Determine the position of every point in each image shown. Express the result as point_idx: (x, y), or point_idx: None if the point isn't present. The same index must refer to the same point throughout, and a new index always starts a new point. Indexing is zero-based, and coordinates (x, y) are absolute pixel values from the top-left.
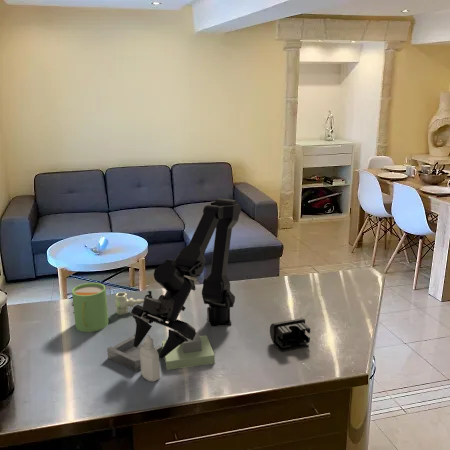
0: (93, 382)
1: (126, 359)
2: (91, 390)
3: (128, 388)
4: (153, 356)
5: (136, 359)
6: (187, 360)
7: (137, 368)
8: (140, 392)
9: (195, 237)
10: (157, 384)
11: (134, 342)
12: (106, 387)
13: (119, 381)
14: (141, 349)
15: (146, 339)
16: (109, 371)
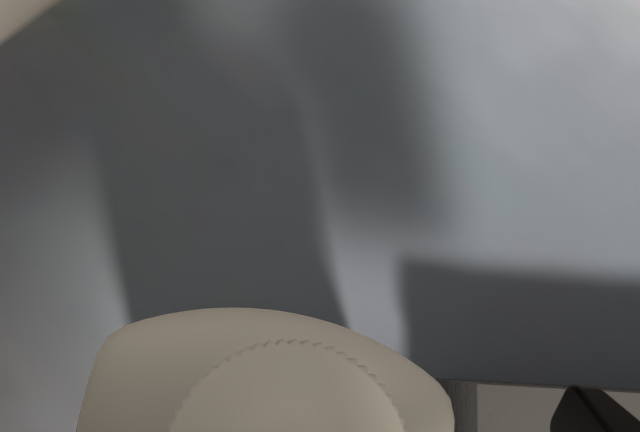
0: (589, 81)
1: None
2: (521, 7)
3: (307, 156)
4: (101, 349)
5: (494, 428)
6: None
7: None
8: (181, 165)
9: None
10: None
11: (630, 422)
12: (462, 82)
13: (440, 190)
14: (396, 366)
15: (308, 416)
16: (614, 252)
